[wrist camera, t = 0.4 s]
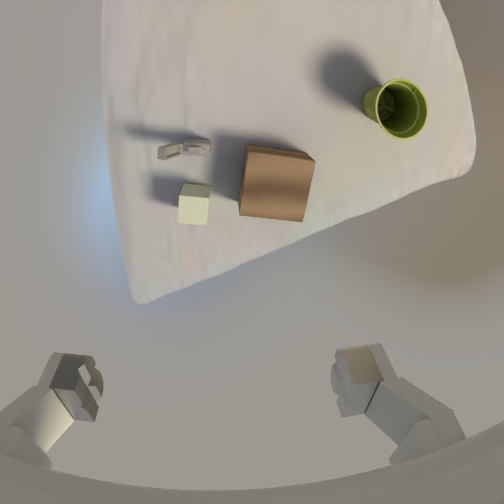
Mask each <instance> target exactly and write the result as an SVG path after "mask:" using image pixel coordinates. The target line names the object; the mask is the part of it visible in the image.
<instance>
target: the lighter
mask: <svg viewBox="0 0 504 504" xmlns="http://www.w3.org/2000/svg"><path fill="white" fill-rule="evenodd" d="M210 150H211V140H205V139H186V140H185V141H184V142H183V144H180V143H171V144H168V145H164V146H160V147H158V159H162V160H167V159H170V158H173V157H176V156H180V155H181V154H182V155H200V156H208V155H209V154H210Z"/></svg>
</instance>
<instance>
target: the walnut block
mask: <svg viewBox="0 0 504 504" xmlns="http://www.w3.org/2000/svg"><path fill="white" fill-rule="evenodd" d="M315 162H316V161H315V160H313V159H312V158H311V157H310V156H309V155H308V154H307V153H303V152H297V151H290V150H284V149H277V148H270V147H262V146H254V145H246V150H245V157H244V164H243V171H242V178H241V185H240V193H239V200H238V205H239V215H241V216H251V217H260V218H270V219H279V220H288V221H297V222H303V218H304V213H305V209H306V204H307V200H308V195H309V190H310V186H311V181H312V176H313V172H314V167H315Z"/></svg>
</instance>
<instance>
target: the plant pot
mask: <svg viewBox="0 0 504 504" xmlns="http://www.w3.org/2000/svg"><path fill="white" fill-rule="evenodd" d="M387 96H389V97H390V99H391V103H390V102H389V99H388V97H387ZM378 103H380V104H381V105H380V106H379V105H378ZM363 108H364V111H365V113H366V115H367V116H368V117H369V118H370V119H372V120H374V121H375V122H377V123H378V124H379V125H380V126H381V128H382V129H383V130H384V131H385V132H386V133H387V134H388V135H390V136H391V137H393V138H396V139H399V140H407V139H411V138H413V137H415V136H417V135H418V134H419V133H420V132H421V131H422V130H423V128H424V127H425V124H426V122H427V119H428V104H427V100H426V97H425V95H424V93H423V92H422V90H421V89H420V88H419V87H418V86H417V85H416V84H415V83H413V82H411V81H409V80H407V79H393V80H390V81H388V82H387V83H385V84H384V85H383V86H378V87H374V88H371V89H370V90H368V91H367V92H366V94H365V96H364V100H363ZM386 114H387V116H385V117H384V118H381V116H384V115H386Z"/></svg>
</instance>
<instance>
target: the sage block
mask: <svg viewBox="0 0 504 504" xmlns="http://www.w3.org/2000/svg"><path fill="white" fill-rule="evenodd" d="M210 189H211V186H207V185H196V184H185V183H184V185H183V187H182V190H181V192H180V195H179V207H178V223H185V224H196V225H207V217H208V209H209V199H210Z"/></svg>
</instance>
